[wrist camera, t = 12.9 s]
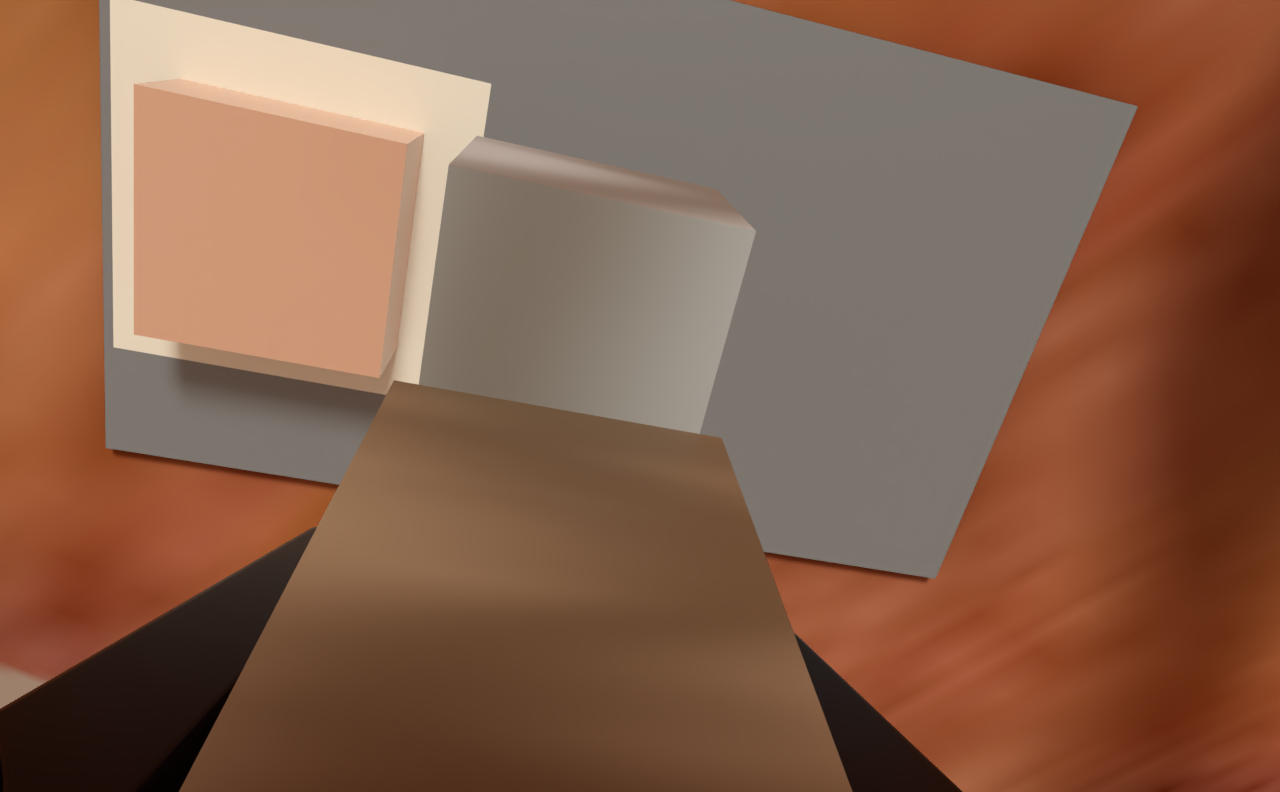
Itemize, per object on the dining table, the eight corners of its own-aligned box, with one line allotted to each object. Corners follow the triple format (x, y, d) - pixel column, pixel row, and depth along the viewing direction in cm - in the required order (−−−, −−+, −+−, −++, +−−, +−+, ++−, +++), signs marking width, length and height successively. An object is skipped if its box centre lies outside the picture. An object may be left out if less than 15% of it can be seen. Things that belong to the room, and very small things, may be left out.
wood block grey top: (735, 193, 11) (1303, 742, 2) (604, 686, 14) (654, 1701, 5) (456, 131, 10) (-78, 557, 2) (383, 657, 13) (53, 1734, 5)
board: (1129, 105, 19) (1137, 106, 19) (931, 572, 24) (935, 578, 24) (104, -161, 16) (96, -164, 16) (112, 442, 21) (105, 447, 21)
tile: (424, 133, 18) (407, 144, 16) (397, 346, 20) (379, 378, 18) (180, 78, 17) (133, 83, 16) (175, 305, 19) (133, 334, 17)
